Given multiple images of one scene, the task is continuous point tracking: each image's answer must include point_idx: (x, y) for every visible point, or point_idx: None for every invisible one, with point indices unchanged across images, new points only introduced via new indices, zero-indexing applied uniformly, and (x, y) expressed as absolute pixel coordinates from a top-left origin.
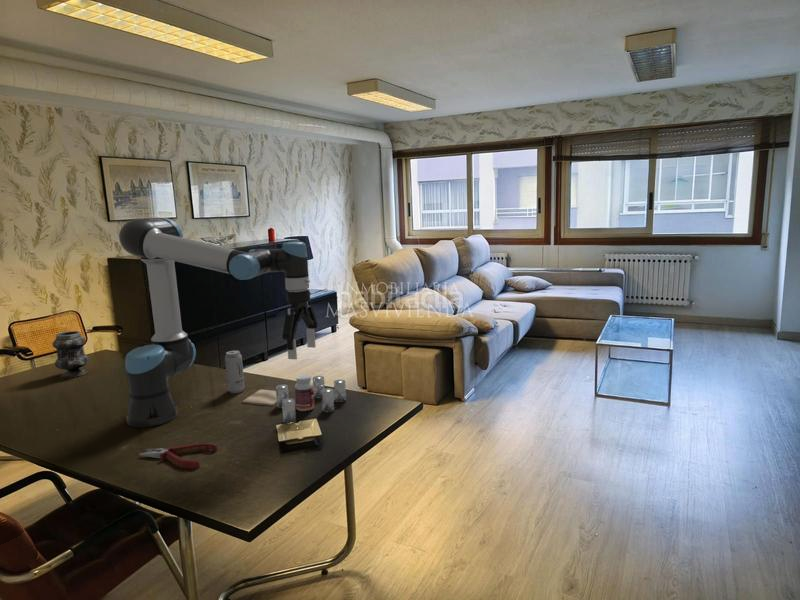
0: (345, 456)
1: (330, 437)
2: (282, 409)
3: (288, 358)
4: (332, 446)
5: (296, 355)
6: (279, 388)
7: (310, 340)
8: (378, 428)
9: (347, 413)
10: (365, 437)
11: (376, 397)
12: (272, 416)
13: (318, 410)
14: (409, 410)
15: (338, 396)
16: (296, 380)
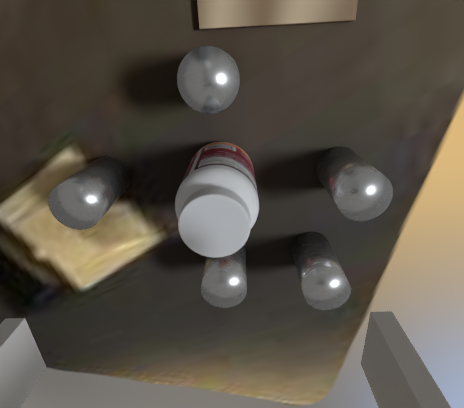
0: None
1: (80, 312)
2: (73, 174)
3: (3, 324)
4: (46, 330)
5: (24, 394)
6: (179, 86)
7: (396, 404)
8: (166, 375)
9: None
10: (116, 367)
11: (348, 325)
12: (115, 93)
13: None
14: (277, 400)
15: (295, 262)
16: (193, 193)
